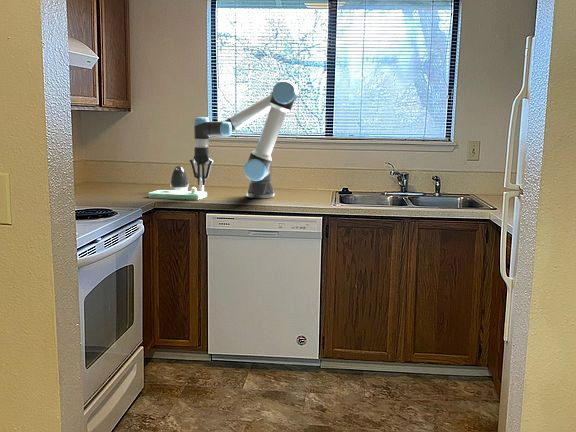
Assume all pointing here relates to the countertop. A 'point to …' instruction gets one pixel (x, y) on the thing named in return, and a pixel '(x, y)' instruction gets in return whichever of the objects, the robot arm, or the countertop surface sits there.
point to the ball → (193, 190)
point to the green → (177, 194)
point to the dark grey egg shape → (179, 179)
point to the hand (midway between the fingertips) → (201, 191)
